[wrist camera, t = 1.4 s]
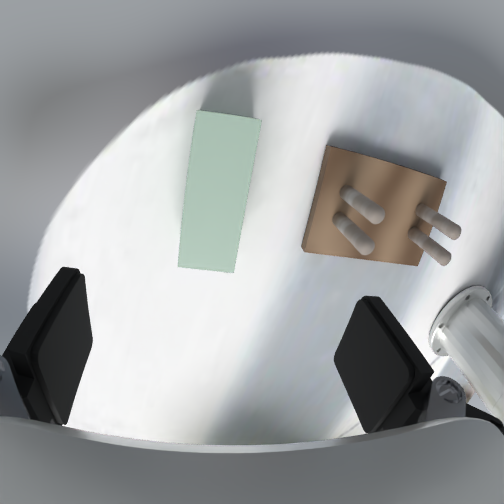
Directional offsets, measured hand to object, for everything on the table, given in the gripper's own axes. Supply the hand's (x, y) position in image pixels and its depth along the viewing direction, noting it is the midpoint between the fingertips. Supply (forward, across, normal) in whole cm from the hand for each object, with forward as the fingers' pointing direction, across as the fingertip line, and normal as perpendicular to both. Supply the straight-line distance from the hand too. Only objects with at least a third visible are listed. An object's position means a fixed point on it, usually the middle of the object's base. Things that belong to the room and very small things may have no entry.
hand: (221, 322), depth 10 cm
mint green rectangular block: (+19, 0, 0) cm, 19 cm away
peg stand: (+19, -16, 0) cm, 25 cm away
